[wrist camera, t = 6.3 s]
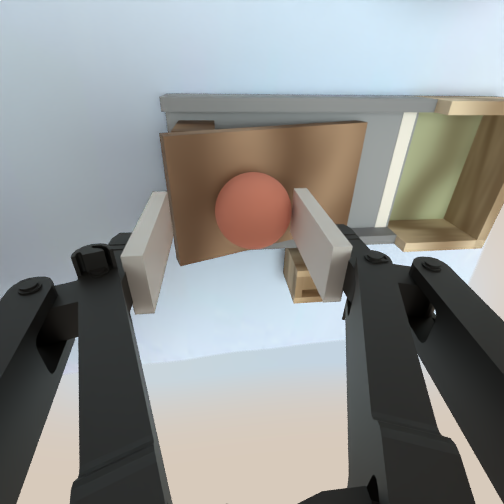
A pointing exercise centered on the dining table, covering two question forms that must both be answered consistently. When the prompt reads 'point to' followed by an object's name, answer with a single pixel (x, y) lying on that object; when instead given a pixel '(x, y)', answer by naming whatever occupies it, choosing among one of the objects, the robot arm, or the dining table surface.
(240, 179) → the ball
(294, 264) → the hollow wooden block
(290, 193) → the ramp
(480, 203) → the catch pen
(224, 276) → the dining table surface
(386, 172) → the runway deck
